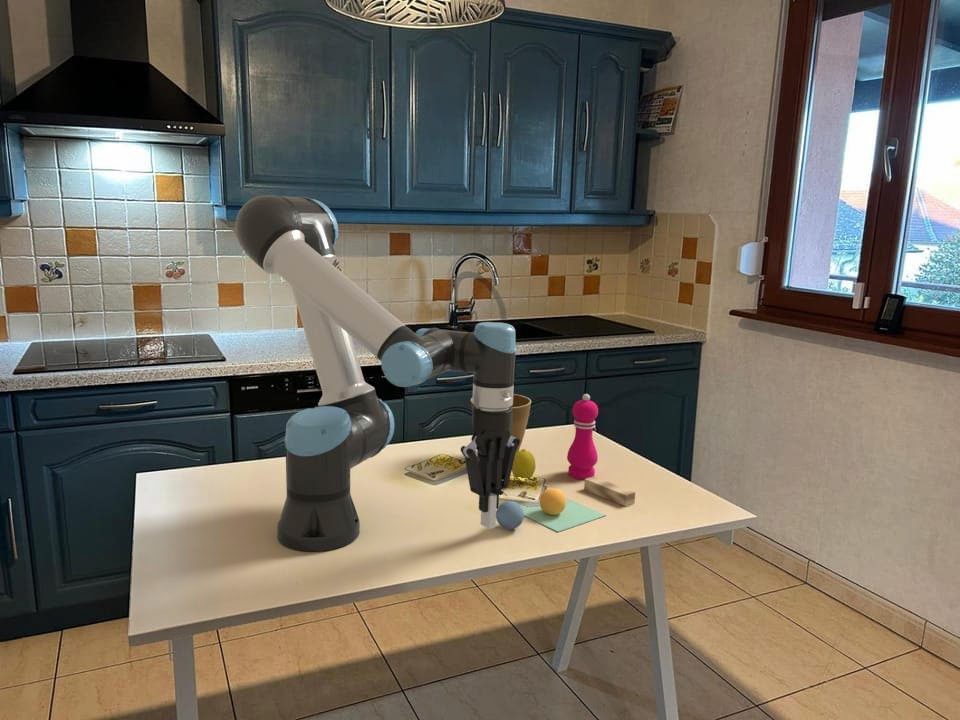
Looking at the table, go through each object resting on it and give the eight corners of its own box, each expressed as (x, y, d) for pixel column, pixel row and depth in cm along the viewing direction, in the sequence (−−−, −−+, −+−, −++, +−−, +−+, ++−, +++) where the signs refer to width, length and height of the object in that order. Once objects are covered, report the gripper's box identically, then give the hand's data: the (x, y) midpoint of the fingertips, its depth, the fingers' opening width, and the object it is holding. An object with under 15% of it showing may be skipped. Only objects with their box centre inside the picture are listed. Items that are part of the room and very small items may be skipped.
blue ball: (512, 492, 145) (516, 515, 146) (488, 503, 142) (493, 526, 144) (526, 503, 140) (531, 527, 142) (502, 514, 138) (507, 538, 140)
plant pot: (507, 449, 192) (510, 390, 188) (539, 466, 179) (543, 403, 176) (458, 456, 184) (459, 395, 181) (488, 475, 172) (490, 410, 168)
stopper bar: (634, 503, 157) (635, 492, 157) (625, 506, 156) (626, 495, 155) (593, 486, 167) (593, 476, 166) (584, 489, 165) (584, 478, 164)
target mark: (557, 532, 141) (558, 531, 141) (510, 509, 152) (510, 508, 152) (605, 516, 150) (605, 515, 150) (557, 494, 161) (557, 494, 161)
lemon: (532, 487, 165) (534, 453, 163) (508, 484, 166) (510, 451, 164) (535, 479, 170) (537, 446, 169) (512, 476, 171) (514, 444, 170)
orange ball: (546, 479, 151) (559, 491, 154) (529, 499, 150) (542, 512, 153) (563, 490, 146) (575, 503, 150) (545, 512, 145) (559, 524, 149)
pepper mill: (570, 468, 179) (575, 389, 175) (599, 472, 176) (604, 392, 172) (562, 477, 172) (567, 395, 168) (592, 482, 169) (598, 399, 166)
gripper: (478, 416, 127) (473, 541, 132) (532, 406, 136) (526, 524, 140) (452, 406, 133) (448, 527, 138) (505, 397, 141) (501, 511, 146)
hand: (488, 525), depth 139 cm, fingers closed
